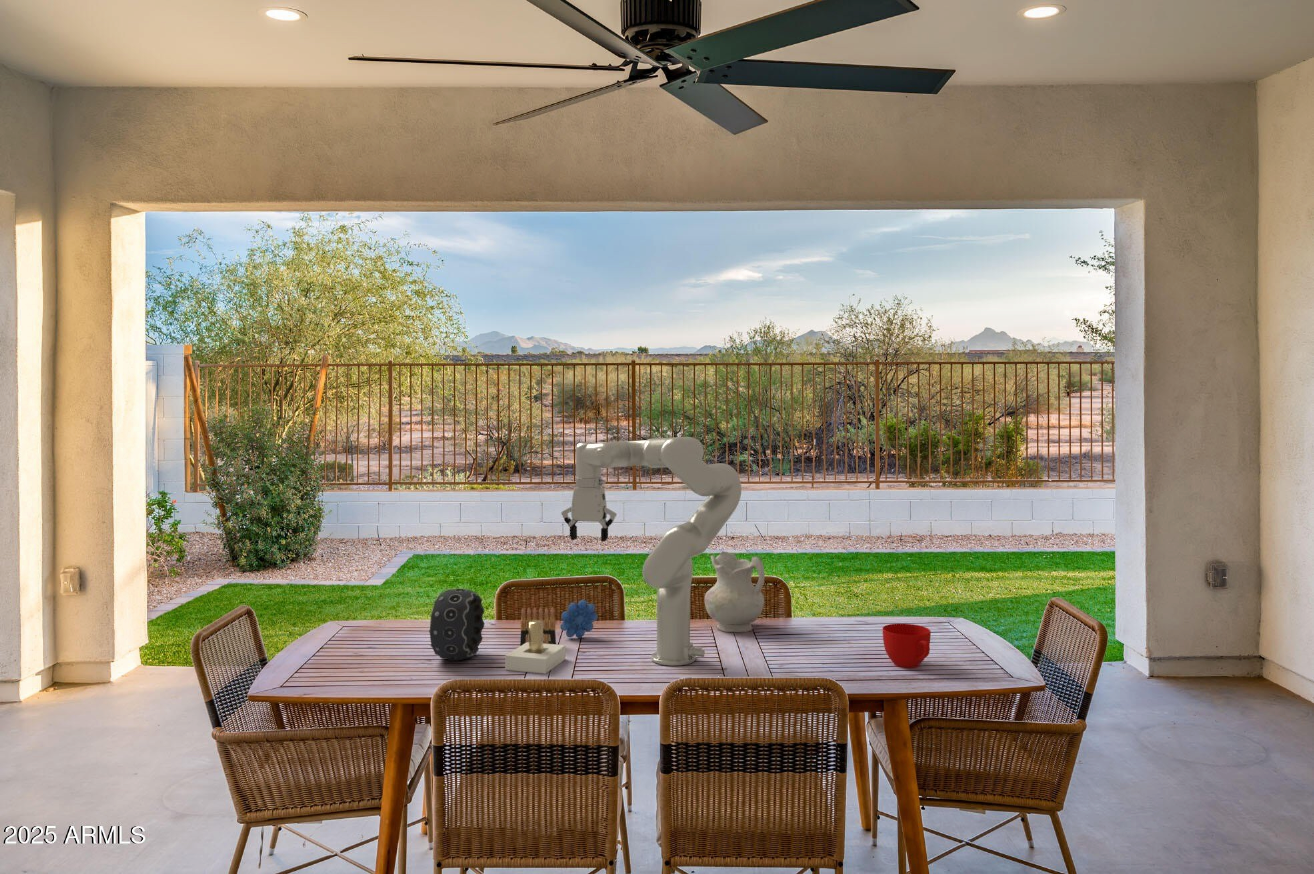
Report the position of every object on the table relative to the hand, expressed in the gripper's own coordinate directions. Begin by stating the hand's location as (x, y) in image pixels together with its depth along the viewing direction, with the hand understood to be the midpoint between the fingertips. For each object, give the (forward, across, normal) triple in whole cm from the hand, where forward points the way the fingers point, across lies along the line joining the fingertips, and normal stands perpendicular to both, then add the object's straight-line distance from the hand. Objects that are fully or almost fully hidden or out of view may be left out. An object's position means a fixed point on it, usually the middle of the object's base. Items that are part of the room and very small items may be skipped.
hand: (588, 540), depth 257 cm
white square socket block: (+32, +8, +21) cm, 39 cm away
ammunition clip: (+32, +15, +4) cm, 36 cm away
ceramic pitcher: (+32, -39, -33) cm, 61 cm away
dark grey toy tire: (+32, +32, +22) cm, 51 cm away
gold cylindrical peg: (+32, +8, +21) cm, 39 cm away
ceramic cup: (+32, -93, -6) cm, 99 cm away
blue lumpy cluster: (+32, +7, -9) cm, 34 cm away
